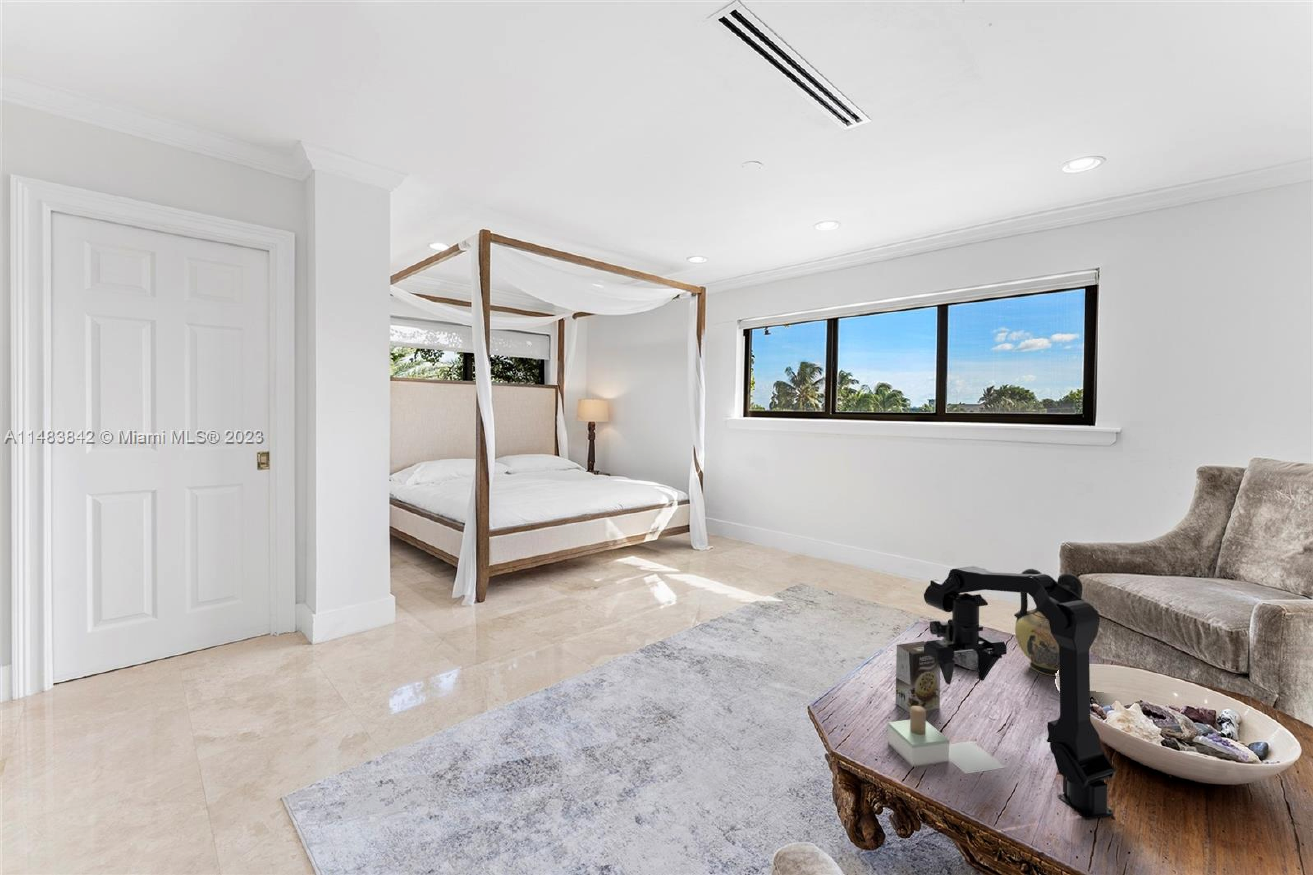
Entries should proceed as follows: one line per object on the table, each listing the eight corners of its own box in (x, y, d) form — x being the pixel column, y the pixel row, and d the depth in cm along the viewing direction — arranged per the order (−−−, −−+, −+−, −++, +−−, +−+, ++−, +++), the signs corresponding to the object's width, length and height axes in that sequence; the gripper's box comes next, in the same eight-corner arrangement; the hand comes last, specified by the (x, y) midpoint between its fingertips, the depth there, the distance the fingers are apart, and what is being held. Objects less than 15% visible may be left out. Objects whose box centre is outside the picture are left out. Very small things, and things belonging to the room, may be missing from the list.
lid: (949, 743, 125) (949, 717, 124) (912, 748, 123) (912, 722, 123) (922, 721, 134) (922, 697, 133) (888, 725, 132) (888, 701, 132)
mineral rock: (928, 656, 179) (928, 625, 178) (956, 651, 181) (956, 621, 181) (960, 674, 166) (960, 641, 166) (989, 669, 169) (990, 636, 168)
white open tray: (948, 763, 125) (949, 743, 125) (912, 768, 123) (912, 748, 123) (922, 739, 134) (922, 721, 134) (888, 744, 132) (888, 725, 132)
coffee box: (911, 715, 144) (912, 654, 144) (894, 703, 151) (895, 644, 150) (941, 710, 147) (941, 649, 146) (923, 698, 153) (923, 639, 152)
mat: (1005, 769, 123) (1005, 767, 122) (965, 775, 121) (965, 773, 121) (971, 742, 132) (971, 741, 132) (934, 748, 130) (934, 746, 130)
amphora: (1015, 675, 165) (1017, 574, 164) (1011, 653, 180) (1013, 560, 178) (1090, 689, 156) (1092, 582, 155) (1080, 664, 171) (1082, 567, 170)
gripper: (974, 604, 146) (973, 663, 147) (909, 610, 142) (909, 670, 143) (1009, 620, 135) (1007, 684, 136) (939, 627, 131) (939, 692, 132)
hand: (964, 682), depth 137 cm, fingers open, 9 cm apart
